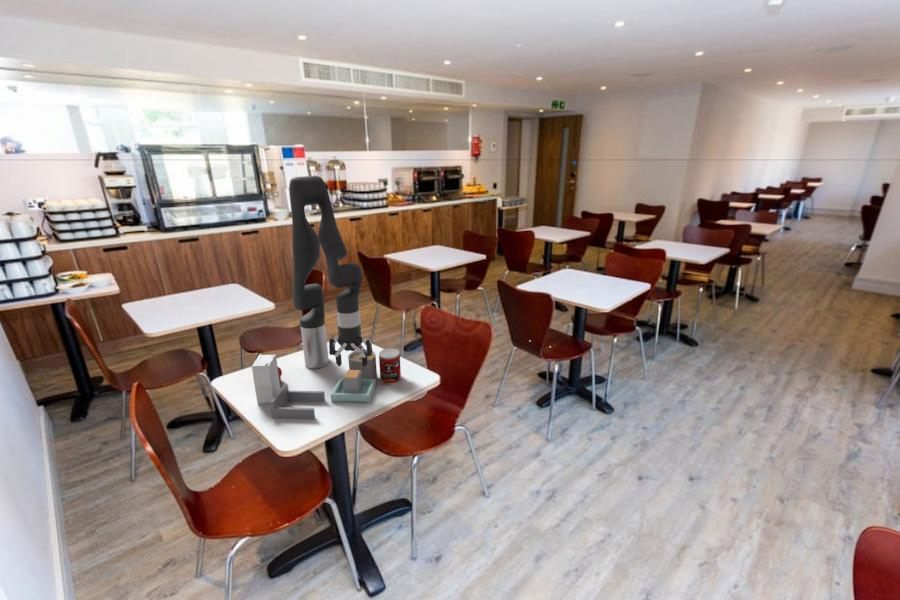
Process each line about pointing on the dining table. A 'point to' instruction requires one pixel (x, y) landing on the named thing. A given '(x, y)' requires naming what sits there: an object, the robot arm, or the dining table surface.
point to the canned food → (389, 366)
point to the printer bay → (287, 395)
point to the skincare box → (266, 378)
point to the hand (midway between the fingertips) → (352, 365)
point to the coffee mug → (369, 369)
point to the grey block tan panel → (353, 381)
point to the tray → (363, 397)
